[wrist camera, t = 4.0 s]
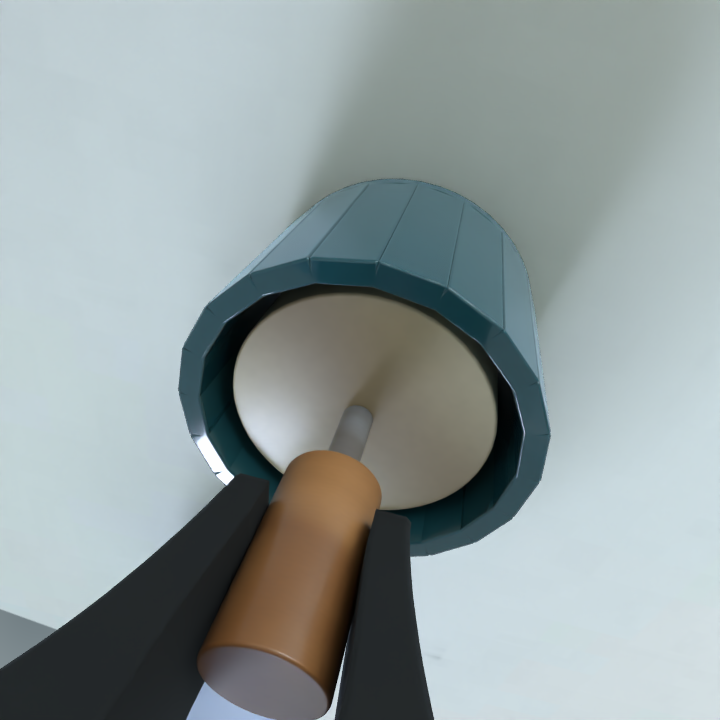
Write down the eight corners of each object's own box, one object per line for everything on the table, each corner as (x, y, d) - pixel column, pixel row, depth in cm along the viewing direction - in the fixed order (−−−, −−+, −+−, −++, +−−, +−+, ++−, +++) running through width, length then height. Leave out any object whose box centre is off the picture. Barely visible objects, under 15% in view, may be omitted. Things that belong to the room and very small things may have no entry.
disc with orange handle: (357, 479, 18) (257, 798, 11) (221, 329, 16) (-24, 597, 8) (543, 403, 15) (590, 789, 7) (405, 201, 13) (269, 455, 5)
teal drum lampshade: (371, 444, 22) (328, 586, 16) (224, 274, 19) (111, 375, 14) (582, 352, 18) (620, 502, 12) (432, 112, 15) (393, 164, 9)
